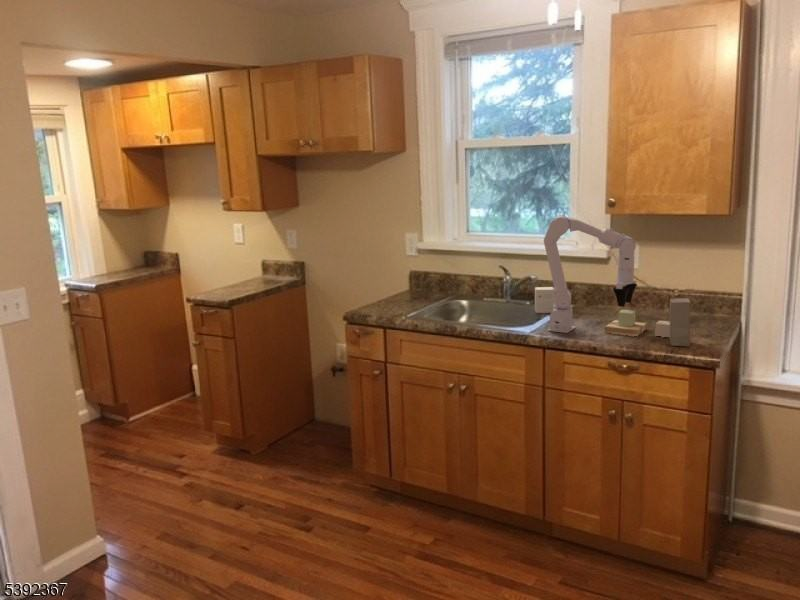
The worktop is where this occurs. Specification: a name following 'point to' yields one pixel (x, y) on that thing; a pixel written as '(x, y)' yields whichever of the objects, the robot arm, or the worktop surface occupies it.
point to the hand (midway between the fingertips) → (624, 304)
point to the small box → (544, 299)
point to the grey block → (662, 329)
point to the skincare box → (679, 322)
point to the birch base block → (625, 328)
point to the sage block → (626, 317)
